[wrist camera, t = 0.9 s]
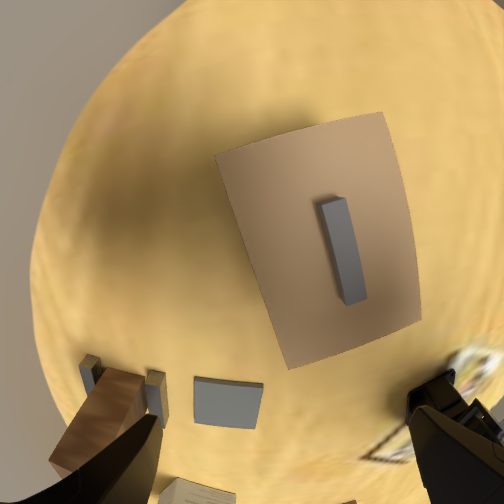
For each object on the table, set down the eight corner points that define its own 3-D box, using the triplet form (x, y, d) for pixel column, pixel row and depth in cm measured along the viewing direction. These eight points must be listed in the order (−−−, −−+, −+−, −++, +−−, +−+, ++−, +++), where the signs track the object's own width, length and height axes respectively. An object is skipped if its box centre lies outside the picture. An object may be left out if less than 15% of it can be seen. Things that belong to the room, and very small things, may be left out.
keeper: (165, 373, 23) (159, 386, 21) (169, 415, 24) (164, 428, 22) (87, 354, 22) (78, 365, 20) (98, 397, 24) (91, 408, 22)
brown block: (144, 376, 23) (96, 482, 11) (148, 404, 24) (111, 503, 12) (107, 367, 23) (48, 460, 11) (113, 395, 24) (66, 485, 11)
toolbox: (368, 273, 20) (430, 327, 12) (275, 304, 21) (290, 382, 12) (332, 136, 18) (392, 106, 9) (228, 166, 18) (210, 152, 10)
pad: (263, 383, 23) (263, 388, 22) (254, 425, 24) (254, 429, 24) (195, 376, 23) (194, 380, 22) (195, 418, 24) (194, 422, 24)
